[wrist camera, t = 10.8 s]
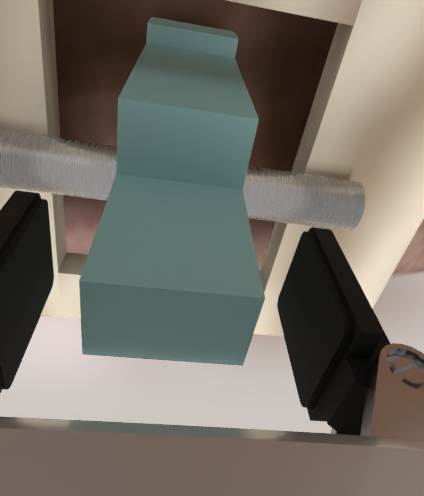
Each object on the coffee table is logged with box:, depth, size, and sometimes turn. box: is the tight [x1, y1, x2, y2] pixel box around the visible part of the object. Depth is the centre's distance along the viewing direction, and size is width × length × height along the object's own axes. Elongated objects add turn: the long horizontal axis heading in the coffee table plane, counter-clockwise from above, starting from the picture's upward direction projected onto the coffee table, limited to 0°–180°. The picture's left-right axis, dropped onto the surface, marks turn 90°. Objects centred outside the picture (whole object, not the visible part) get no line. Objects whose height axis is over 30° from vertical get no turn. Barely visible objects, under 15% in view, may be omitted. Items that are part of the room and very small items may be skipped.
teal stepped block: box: [79, 17, 265, 365], centre depth 15 cm, size 4×9×15 cm, turn 171°
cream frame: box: [0, 0, 424, 336], centre depth 19 cm, size 22×18×12 cm
